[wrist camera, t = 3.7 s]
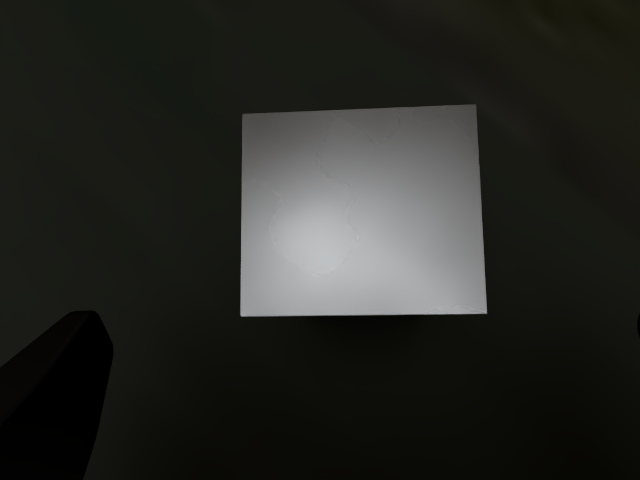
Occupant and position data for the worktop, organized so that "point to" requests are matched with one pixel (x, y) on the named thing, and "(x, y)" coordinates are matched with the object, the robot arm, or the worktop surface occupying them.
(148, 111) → the worktop surface
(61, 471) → the robot arm
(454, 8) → the worktop surface
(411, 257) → the grey rectangular block
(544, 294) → the worktop surface
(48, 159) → the worktop surface
